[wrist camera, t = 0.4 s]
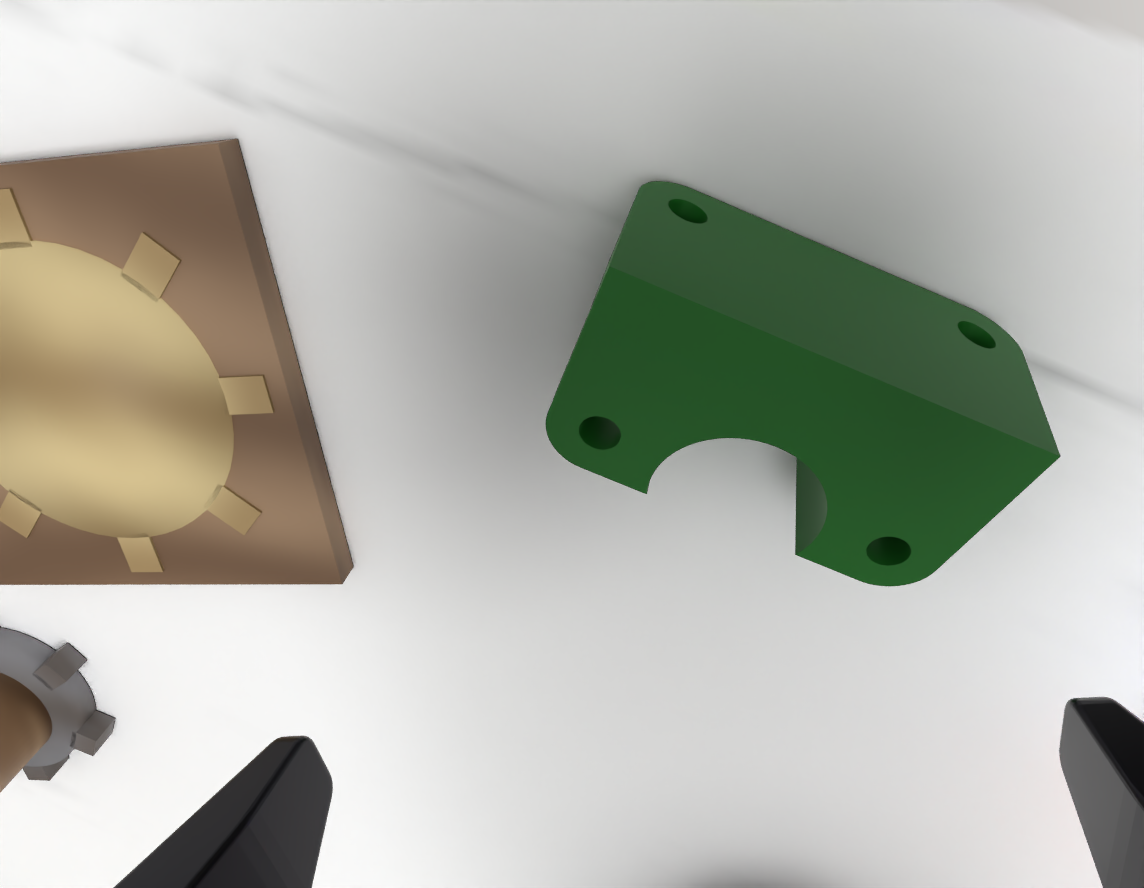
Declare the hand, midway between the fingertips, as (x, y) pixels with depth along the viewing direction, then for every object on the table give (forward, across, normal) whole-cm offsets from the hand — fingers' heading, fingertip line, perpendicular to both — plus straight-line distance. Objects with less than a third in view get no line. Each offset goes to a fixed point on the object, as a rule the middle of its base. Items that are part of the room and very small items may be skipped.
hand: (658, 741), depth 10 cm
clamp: (+15, -2, +2) cm, 15 cm away
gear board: (+15, +18, 0) cm, 24 cm away
